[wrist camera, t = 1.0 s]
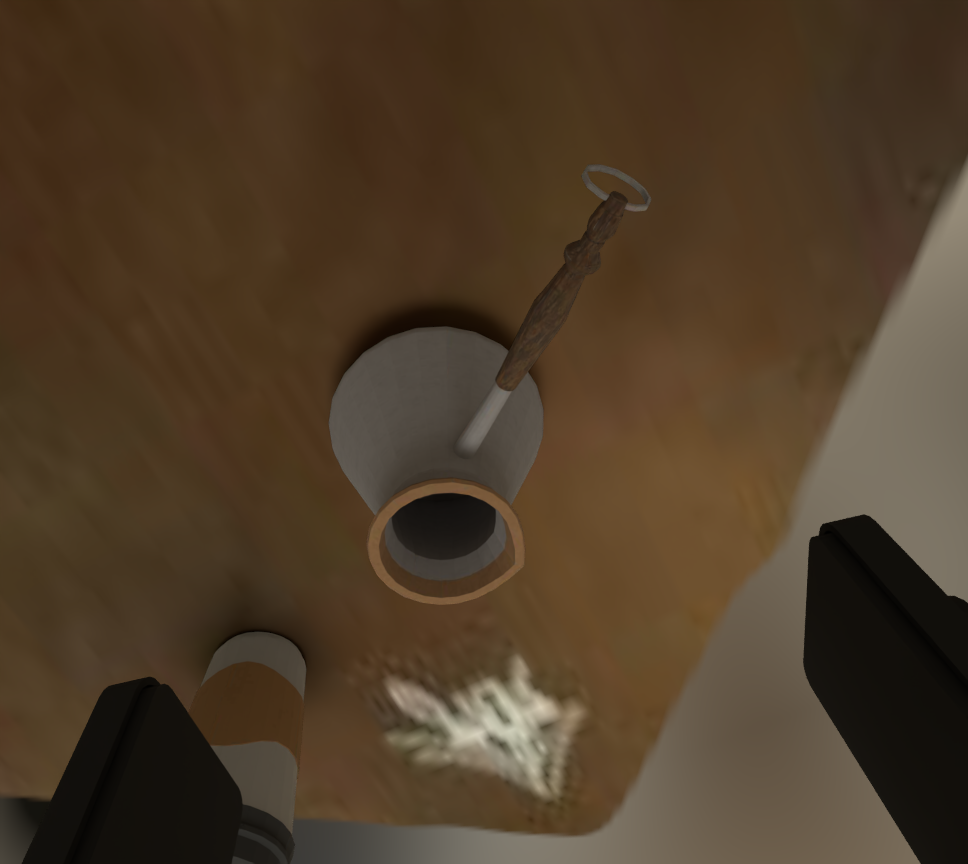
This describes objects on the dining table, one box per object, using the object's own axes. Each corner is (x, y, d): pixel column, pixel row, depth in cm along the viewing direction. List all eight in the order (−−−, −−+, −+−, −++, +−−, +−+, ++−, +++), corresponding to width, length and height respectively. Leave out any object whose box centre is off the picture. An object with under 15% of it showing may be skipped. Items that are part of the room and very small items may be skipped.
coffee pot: (492, 507, 43) (527, 707, 30) (311, 459, 40) (263, 658, 27) (649, 170, 34) (798, 247, 21) (429, 77, 31) (441, 99, 18)
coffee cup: (204, 703, 49) (130, 940, 36) (191, 617, 45) (101, 849, 32) (323, 701, 50) (291, 931, 37) (320, 617, 46) (284, 842, 33)
